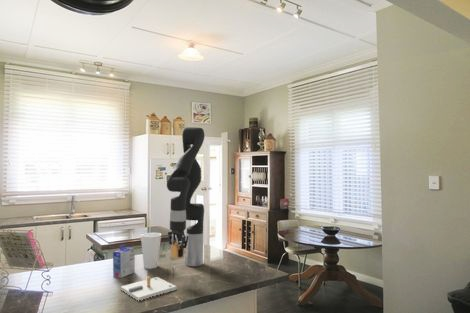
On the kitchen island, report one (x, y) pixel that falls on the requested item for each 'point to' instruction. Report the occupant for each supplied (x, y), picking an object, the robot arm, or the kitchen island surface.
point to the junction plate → (148, 288)
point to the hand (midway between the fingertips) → (177, 255)
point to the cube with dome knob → (175, 250)
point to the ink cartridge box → (123, 262)
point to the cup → (150, 249)
